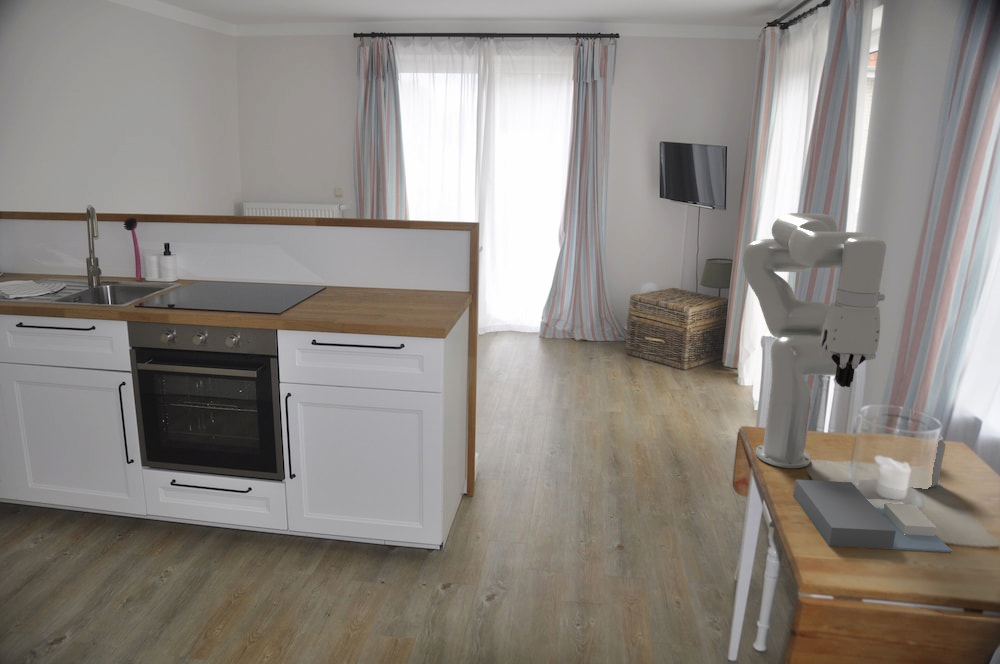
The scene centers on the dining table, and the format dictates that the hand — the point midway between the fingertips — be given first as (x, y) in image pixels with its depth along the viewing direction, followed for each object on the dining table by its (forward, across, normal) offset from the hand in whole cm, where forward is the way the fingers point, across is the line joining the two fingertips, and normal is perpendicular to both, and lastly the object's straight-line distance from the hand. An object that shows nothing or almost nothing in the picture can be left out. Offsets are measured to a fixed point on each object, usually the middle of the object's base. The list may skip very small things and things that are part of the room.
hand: (843, 384), depth 145 cm
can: (+27, -26, -12) cm, 40 cm away
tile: (+25, -14, +8) cm, 29 cm away
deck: (+27, 0, +8) cm, 28 cm away
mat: (+27, -12, +8) cm, 31 cm away
